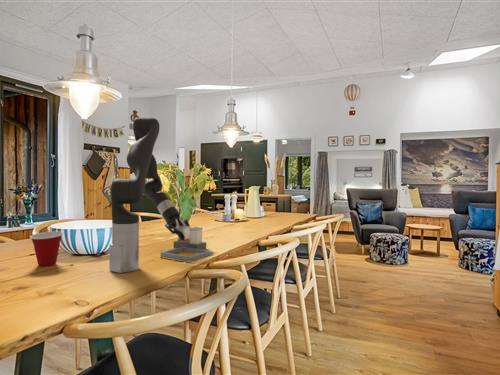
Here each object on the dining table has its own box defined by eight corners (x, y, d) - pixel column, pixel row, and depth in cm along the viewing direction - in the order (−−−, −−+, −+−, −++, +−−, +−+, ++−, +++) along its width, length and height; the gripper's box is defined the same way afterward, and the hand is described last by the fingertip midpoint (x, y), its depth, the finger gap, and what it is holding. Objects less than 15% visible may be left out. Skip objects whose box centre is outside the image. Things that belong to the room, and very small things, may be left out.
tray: (189, 263, 131) (190, 257, 131) (160, 258, 139) (160, 252, 139) (211, 256, 143) (211, 250, 143) (183, 252, 151) (183, 246, 151)
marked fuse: (184, 248, 154) (184, 227, 154) (177, 247, 156) (177, 226, 156) (190, 247, 158) (190, 226, 158) (183, 246, 160) (183, 225, 160)
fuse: (196, 250, 151) (196, 228, 150) (189, 249, 153) (189, 227, 152) (202, 249, 154) (202, 227, 154) (195, 247, 156) (195, 226, 156)
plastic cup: (22, 266, 123) (22, 234, 123) (48, 260, 133) (48, 230, 133) (44, 269, 119) (44, 236, 119) (69, 262, 130) (69, 232, 129)
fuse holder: (196, 253, 149) (196, 244, 149) (173, 249, 156) (173, 241, 156) (206, 250, 155) (206, 242, 155) (183, 247, 162) (183, 239, 162)
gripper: (161, 207, 154) (181, 235, 148) (182, 205, 167) (201, 231, 161) (153, 217, 157) (172, 245, 151) (174, 215, 169) (192, 241, 164)
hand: (187, 238), depth 156 cm, fingers open, 4 cm apart
